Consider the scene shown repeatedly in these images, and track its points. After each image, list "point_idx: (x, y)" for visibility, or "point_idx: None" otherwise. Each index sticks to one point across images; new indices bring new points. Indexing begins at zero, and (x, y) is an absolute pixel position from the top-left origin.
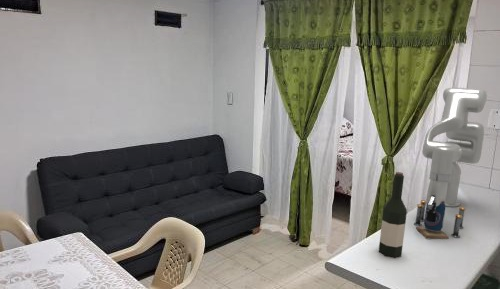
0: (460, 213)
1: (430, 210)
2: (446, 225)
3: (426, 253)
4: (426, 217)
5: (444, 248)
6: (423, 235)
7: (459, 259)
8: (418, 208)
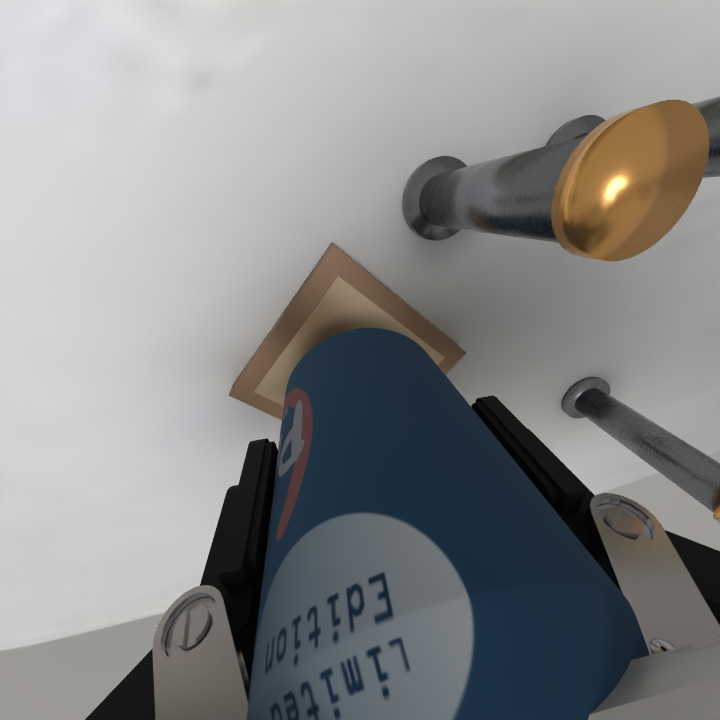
0: (675, 473)
1: (132, 703)
2: (573, 343)
3: (25, 492)
4: (288, 429)
5: (213, 494)
6: (256, 352)
7: (174, 565)
8: (538, 183)
